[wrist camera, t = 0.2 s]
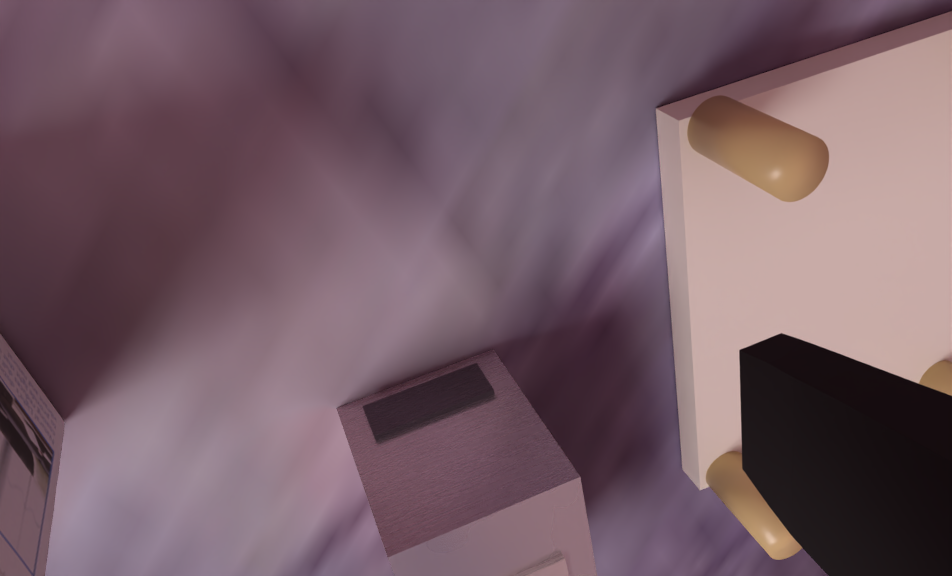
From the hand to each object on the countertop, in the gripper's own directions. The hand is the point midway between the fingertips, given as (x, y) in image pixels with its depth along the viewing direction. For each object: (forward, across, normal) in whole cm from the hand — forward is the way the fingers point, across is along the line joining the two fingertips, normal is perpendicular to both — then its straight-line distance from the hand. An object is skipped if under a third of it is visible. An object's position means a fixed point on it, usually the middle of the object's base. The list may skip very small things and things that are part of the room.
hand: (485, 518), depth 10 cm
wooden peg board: (+10, -13, +6) cm, 17 cm away
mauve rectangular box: (+10, -1, +9) cm, 14 cm away
